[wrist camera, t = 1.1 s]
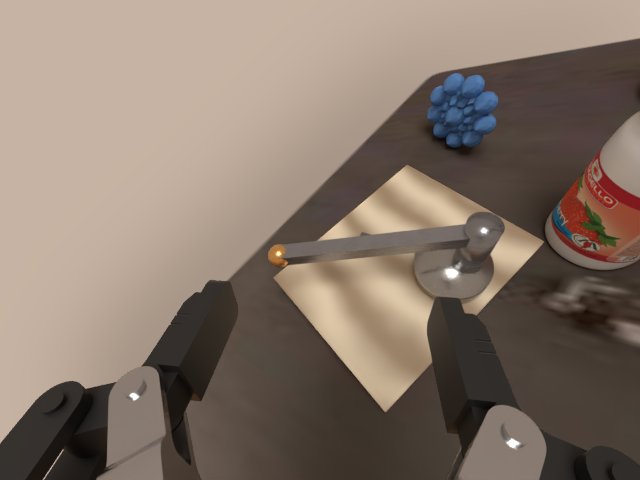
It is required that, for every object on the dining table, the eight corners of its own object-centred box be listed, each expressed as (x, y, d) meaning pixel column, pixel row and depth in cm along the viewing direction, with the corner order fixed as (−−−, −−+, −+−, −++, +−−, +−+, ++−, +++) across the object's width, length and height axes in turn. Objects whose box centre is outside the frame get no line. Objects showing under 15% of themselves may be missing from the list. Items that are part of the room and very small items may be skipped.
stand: (406, 178, 45) (407, 163, 42) (533, 253, 35) (545, 240, 32) (280, 286, 40) (272, 277, 37) (385, 412, 30) (385, 412, 27)
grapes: (502, 148, 44) (534, 71, 34) (469, 171, 43) (493, 98, 33) (445, 117, 50) (458, 44, 40) (415, 136, 49) (421, 67, 39)
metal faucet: (476, 237, 34) (500, 186, 26) (498, 301, 30) (535, 263, 22) (292, 257, 38) (267, 218, 30) (288, 315, 34) (259, 287, 26)
